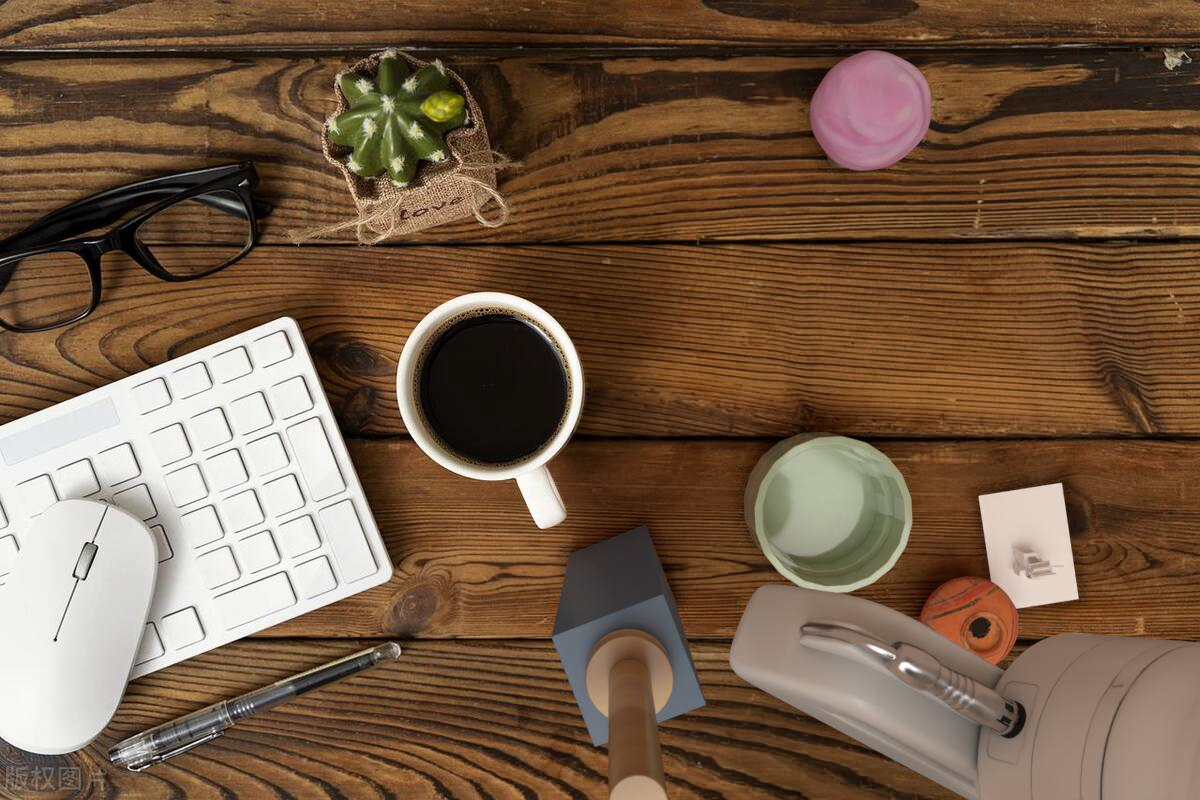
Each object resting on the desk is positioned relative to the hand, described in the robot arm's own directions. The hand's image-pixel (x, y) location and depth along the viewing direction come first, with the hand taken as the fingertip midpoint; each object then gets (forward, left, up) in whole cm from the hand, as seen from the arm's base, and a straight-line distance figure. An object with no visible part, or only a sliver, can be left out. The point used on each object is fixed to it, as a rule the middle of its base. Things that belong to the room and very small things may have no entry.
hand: (862, 713), depth 40 cm
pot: (-11, -15, -33) cm, 38 cm away
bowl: (+2, -7, -33) cm, 34 cm away
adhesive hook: (-8, -23, -33) cm, 41 cm away
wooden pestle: (+2, +10, -10) cm, 15 cm away
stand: (+2, +10, -33) cm, 35 cm away
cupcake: (+30, -21, -33) cm, 50 cm away
